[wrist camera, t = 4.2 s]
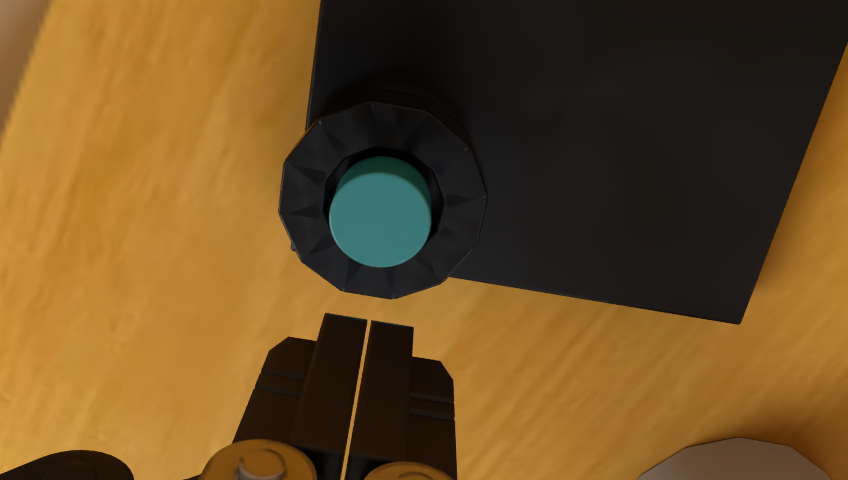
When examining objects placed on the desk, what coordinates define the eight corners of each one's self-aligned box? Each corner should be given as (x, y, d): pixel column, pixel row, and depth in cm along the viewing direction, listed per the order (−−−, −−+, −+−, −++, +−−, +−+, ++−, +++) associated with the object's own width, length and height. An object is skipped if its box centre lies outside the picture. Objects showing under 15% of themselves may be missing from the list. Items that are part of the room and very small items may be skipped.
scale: (288, 240, 24) (270, 280, 21) (340, -197, 19) (325, -219, 16) (722, 312, 25) (759, 360, 22) (869, -91, 20) (940, -94, 17)
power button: (330, 237, 21) (322, 259, 19) (342, 147, 20) (335, 163, 19) (421, 252, 21) (421, 275, 20) (438, 164, 20) (439, 181, 19)
